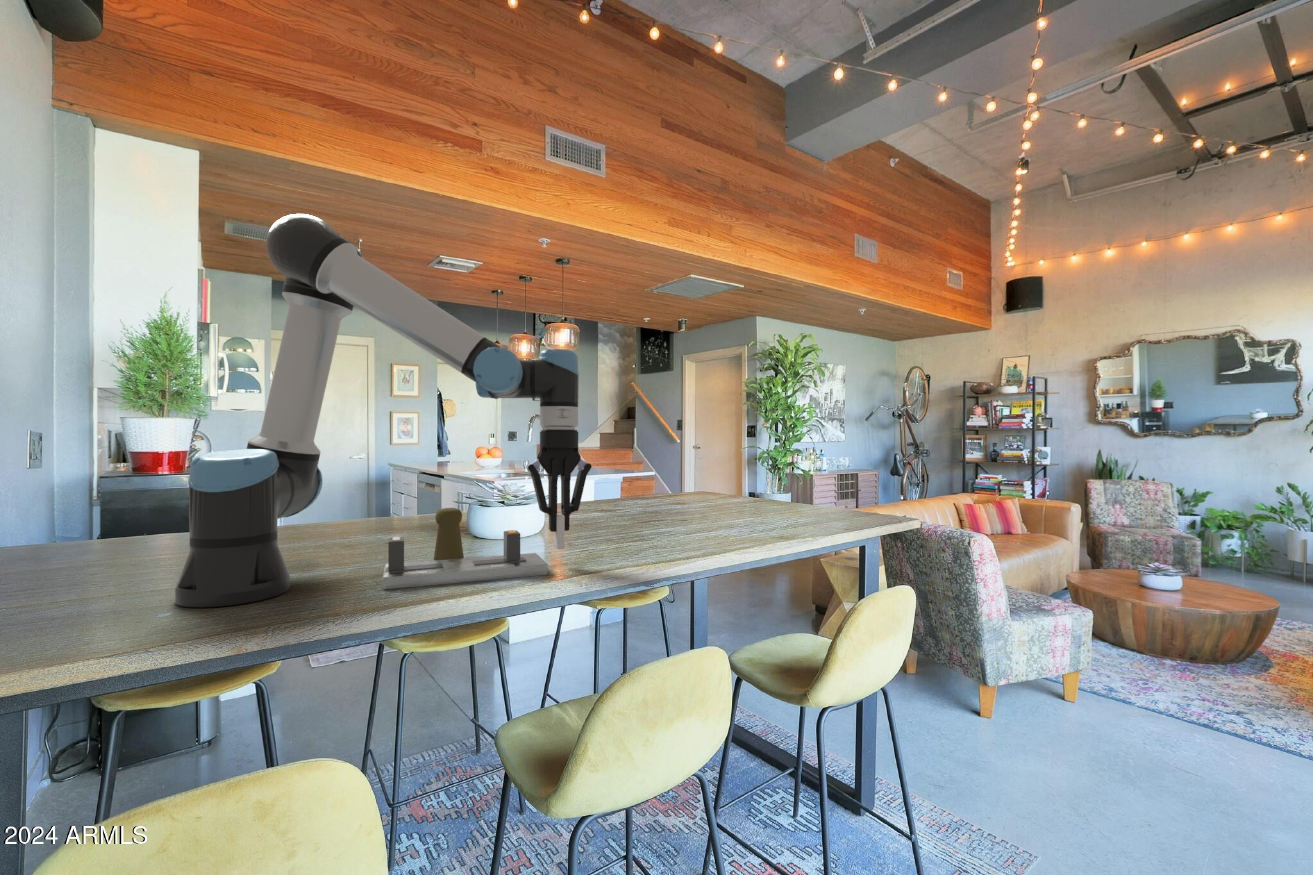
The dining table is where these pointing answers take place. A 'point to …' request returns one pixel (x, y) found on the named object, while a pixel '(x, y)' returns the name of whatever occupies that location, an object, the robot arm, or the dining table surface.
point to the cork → (448, 535)
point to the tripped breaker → (511, 545)
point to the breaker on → (396, 553)
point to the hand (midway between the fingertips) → (559, 547)
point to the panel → (463, 571)
